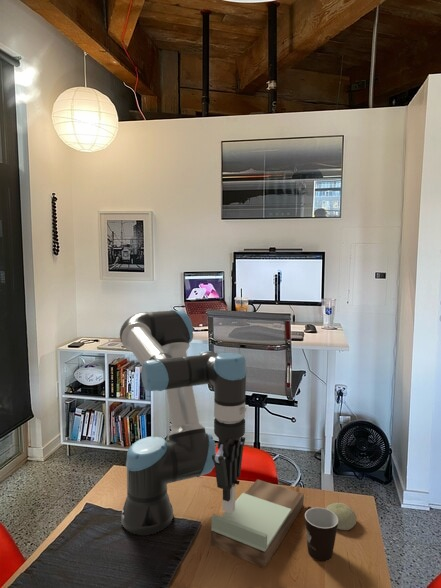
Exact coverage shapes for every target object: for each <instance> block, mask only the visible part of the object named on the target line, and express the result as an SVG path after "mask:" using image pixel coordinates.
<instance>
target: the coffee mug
mask: <svg viewBox="0 0 441 588" xmlns="http://www.w3.org/2000/svg"><path fill="white" fill-rule="evenodd" d="M304 523H305V533H306V544H307V545H306V547H307V553H308V554H307V555H309V556H310V558H312V559H313V560H315V561H317V562H328V561H330V560H331V559H332V557H333V554H334V548H335V544H336V543H335V541H336V536H337V530H338V529H337V526H338V517H337V516H336V514H335V513H333V512H332V511H330V510H328V509H326V508H324V507H318V506H317V507H312V506H307V508H306V511H305V513H304Z"/></svg>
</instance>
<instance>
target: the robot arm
mask: <svg viewBox="0 0 441 588" xmlns="http://www.w3.org/2000/svg"><path fill="white" fill-rule="evenodd" d="M193 332H194V327H193V324H192V319H191V318H190V316H189V315H188V314H187V313H186V312H185V311H184V310H174V309H171V310H159V311H143V312H142V311H141V312H138V313H136V314H133V315H131V316H130V317H128V318H127V319H126V320H125V321H124V322H123V324H122V325H121V327H120V330H119V340H120V342H121V345H122V346H123V347H124V348H125V349H126V350H128V351H130V352H132V354H133V356H134V357H135V358H136V359H137V361H138V363H139V364H140V365H141V368H140V369H141V372H140V377H141V382H142V386H143V388H144V389H145V390H146V391H147V392H155V391H158V392H162V391H166V395H167V403H168V410H169V416H170V422H171V431H170V432H169V434H168V440H166V439H165V438H163V437H161V436H153V435H152V436H147V437H143V438H140V439H138V440H136V441H135V442H134V443H132V444H131V446H130V447H129V448H128V449H127V453H126V462H125V467H126V488H127V489H126V494H127V495H126V498H125V501H124V504H123V508H122V511H121V516H120V517H121V526H122V525H123V526H122V528H123V527H124V528H125V529H126V530H128V531H129V532H130V534H132V533H133V535H135V534H137V535H136V536H150V534H152V535H155V534H157V533H156V532H158V533H160V532H159V531H161V530H162V529H164V528H166V527H167V526H168V525H169V524H170V523H172V522H173V520H172V519H174V508H173V505H172V503H171V501H170V497H169V493H168V484H171V483H175V482H176V483H177V482H181V481H184V480H188V479H189V480H190V479H192V478H200V477H201V476H203V475H204V476H205V475H208V474H210V473H211V472H212V471H213V470H215V478H216V486H217V488H219V489H222V510H223V512H226V511H227V512H230V513H233V512H234V511H235V501H236V486H238V485H240V480H238V479H240V477H241V470H242V462H243V454H244V453H243V452H244V446H245V441H246V437H243V436H244V435H245V433H246V419H245V418H246V411H247V408H246V390H247V387H246V386H247V385H246V384H247V368H246V358H245V356H244V355H242V354H240V353H236V352H222V353H217V352H214V351H210V350H204V351H203V350H202V351H201V352H199V353H198V354H196V355H190V356H189V355H187V353H188V349H189V348H190V343H191V342H192V341H193V338H194V333H193ZM202 385H210V386H212V388H214V389H213V391H214V392H213V393H214V395H213V396H214V397H213V398H214V399H213V400H214V401H213V408H214V409H213V417H214V419H213V432H214V434H215V436H216V437H217V439H218V442H217V448H216V442H215V440H214V437H213V435H212V434H210V433H208V432H206V429H205V426H203V425H202V424H201V423H200V421H199V416H198V410H197V409H198V408H197V404H196V398H195V394H194V389H193V387H196V386H202ZM216 449H218V450H216ZM171 521H172V522H171ZM170 525H171V524H170ZM170 525H169V526H170ZM169 526H168V527H169ZM168 527H167V528H168ZM124 528H123V529H124ZM167 528H166V529H167ZM125 529H124V530H125ZM126 530H125V531H126ZM164 530H165V529H164ZM128 531H127V532H128ZM129 532H128V533H129ZM161 532H162V531H161ZM154 533H155V534H154Z"/></svg>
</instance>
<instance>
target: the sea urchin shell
mask: <svg viewBox="0 0 441 588" xmlns="http://www.w3.org/2000/svg"><path fill="white" fill-rule="evenodd" d="M325 509H328V510H330V511H332V512H333V513H335V514H336V516H337V517H338V526H337V530H340V531H349V530H351V529H352V528H354V526H356V523H357V514H356V512H355V511H354V510H353V509H352V508H351V506H349V505H347V504H346V503H343V502H333V503H331V504H328V505H327V506H326V508H325Z"/></svg>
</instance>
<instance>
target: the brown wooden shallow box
mask: <svg viewBox="0 0 441 588" xmlns="http://www.w3.org/2000/svg"><path fill="white" fill-rule="evenodd" d="M244 493H245V494H248V495H251V496H254V497H257V498H260V499H263V500H266V501H269V502H272V503H275V504H278V505H281V506H284V507H287V508H290V509H291V513H290V514H289V516H288V517H287V519H286V520H285V522H284V523H283V525H282V527H281V528H280V530H279V531H278V533H277V534H276V536H275V537H274V539H273V540H272V542H271V543H270V545H269V547H268V548H267V550H266V551H265V552H264V551H262V550H259V549H257V548H254V547H252V546H249V545H247V544H244V543H242V542H239V541H237V540H234V539H232V538H229V537H227V536H224V535H222V534H219V533H217V532H214V531H212V530H211V531H210V546H211V547H213V548H216V549H219V550H220V551H223V552H225V553H228V554H230V555H233V556H235V557H238V558H239V559H242V560H243V561H247V562H249V563H251V564H254V565H257V566H258V567H261V568H264V569H265V568H267V565H268V564H269V562H270V561H271V559H272V557H273V556H274V555H275V552H276V551H277V549H278V547H280V544H281V543H282V541H283V539H285V536H286V535H287V533H288V532H289V529H290V528H291V526H292V524H293V523H294V522H295V520H296V518H297V516H298V515H299V513H300V512H301V511H302V509H303V507H304V499H305V497H304V494H305V493H303V492H300V491H296V490H293V489H291V488H288V487H285V486H280V485H276V484H275V483H274V484H273V483H271V482H267V481H264V480H261V479H256V480H255V482H254V483H252V485H251V486H250V487H249V488H248V489H247V490H246V491H245V492H244ZM301 508H302V509H301Z"/></svg>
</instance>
